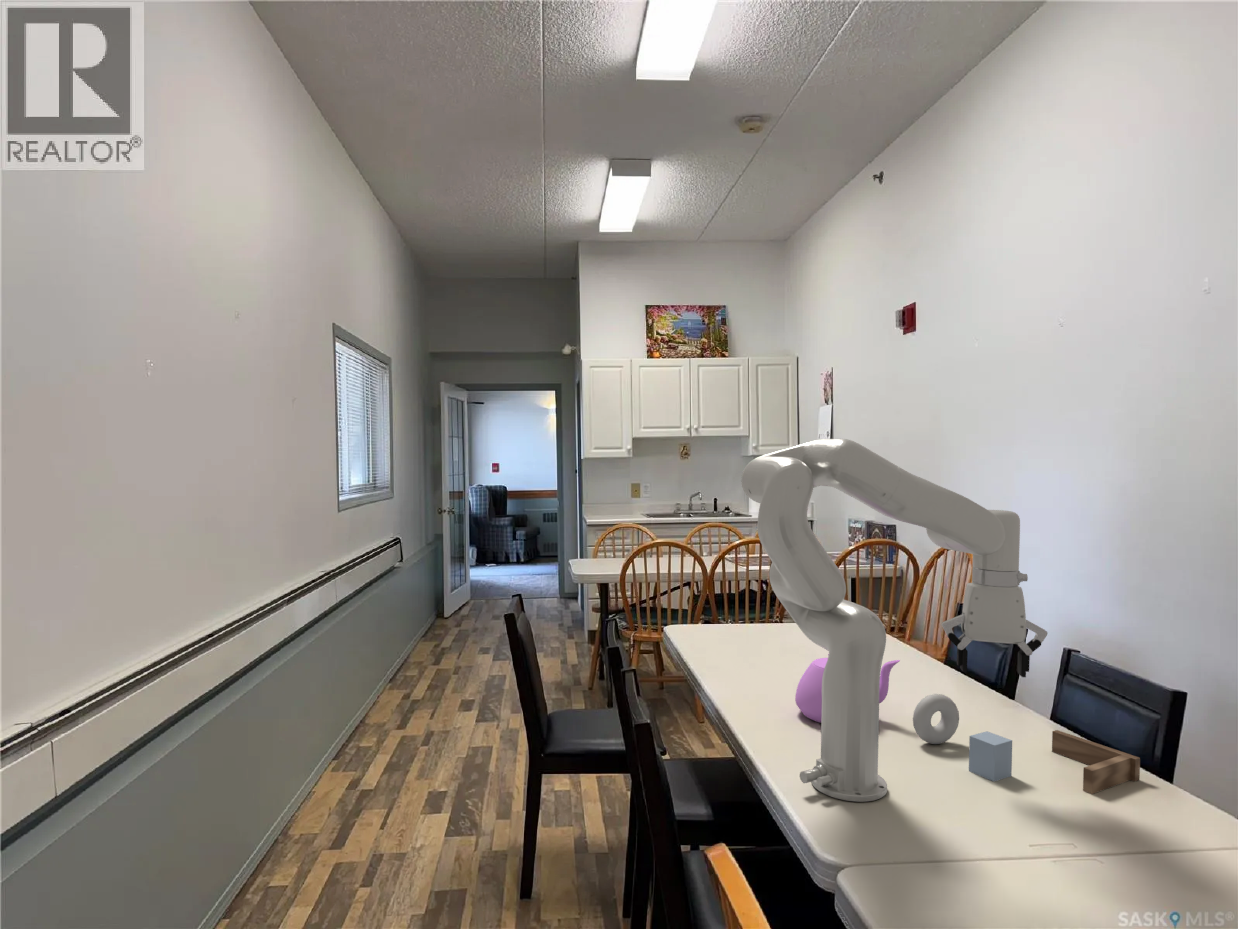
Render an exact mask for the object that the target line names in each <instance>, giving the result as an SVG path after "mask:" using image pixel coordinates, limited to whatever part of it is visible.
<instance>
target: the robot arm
mask: <svg viewBox="0 0 1238 929" xmlns="http://www.w3.org/2000/svg"><path fill="white" fill-rule="evenodd" d="M740 481H741V487H742V489H743V492H744V493H745V495H746V496H747V498H748V499H750V500H752V501H753V502H756V503H758V504H759V508H758V515H757V534H758V538H759V542H760V544H761V546H762V548H763V550H764V551H765V553H766V554H767V556H768V558H769V559H770V561H771V565H770V567H769V572H768V576H769V577H768V579H769V584H770V585H771V586H770V587H771V588H772V591H773V592H774V594H775V596H776V598H777V599H778V601H779V602H780V603H781V604H782V606H783V608H784V609H785V610H786V612H787V613H788V614H789V616H790V617H791V619H792V620H793V621H794V623H795V624H796V625H797V626H798V628H799V629H800V631H801V632H802V633H803V634H804V636H805V637H806V638H807V639H808V640H810V641H811V642H812V643H814V644H815V645H817V646H819V647H821V648H823V649H824V650H826V651H828V654H829V656H828V655H827V658H828V660H827V663H826V666H825V669H824V672H823V677H822V719H821V724H820V726H821V729H820V735H821V736H820V758H817V759H816V761H815V765H814V766H813V767H812V769H806V770H802V771H800V772H799V780H800V781H801V782H802V784H808V783H811V784H812V786H813V787H814V788H815V789H816V790H817V791H819V792H820V793H822V794H824V795H826V796H828V797H831V798H834V799H837V800H838V799H839V800H842V801H849V802H854V803H855V802H856V803H857V802H861V803H864V802H873V801H877V800H880V799H881V798H883V797H885V795H887V792H888V784H887V781H886V780H885V779H884V777H882V776H881V775H880V774H878V773H879V770H878V769H879V736H880V735H879V732H880V730H879V727H880V726H879V723H880V704H879V686H880V674H881V668H882V666H883V659H884V655H885V651H886V647H887V646H886V644H887V633H886V628H885V626H884V623H883V621H882V620H881V619H880V617H879V616H878V615H877V614H876V613H875V612H873V611H872V610H870V609H869V608H868V607H865V606H863V605H861V604H858V603H856V602H852V601H850V600H847V599H845V597H846V593H847V586H846V584H847V583H846V581H845V580H846V579H845V578H844V575H843V574H842V572H841V570H840V569H839V567H838V566H837V565H836V562H834V561H833V559H832V558H831V556H830V555H829V553H828V552H827V551H826V550H825V548H824V546H823V545H822V544H821V542H820V541H819V539H818V538H817V536H816V535H815V533H814V531H813V530H812V528H811V526H810V523H809V520H808V509H809V508H808V507H809V506H810V501H811V498H812V495H813V493H814V492H813V490H814V488H817V487H830V488H831V487H832V488H834V489H837V490H838V491H839V492H843V493H844V494H846V495H848V496H849V497H850V498H853V499H855V500H857V501H859V502H860V503H862V504H864V505H866V506H868V507H870V509H873V510H874V511H876V512H878V513H879V514H882V515H884V516H886V517H888V518H891V519H894V520H896V521H898V522H901V523H907V524H911V525H915V526H919V527H922V528H925V530H926V534H927V536H928V538H929V540H930V541H931V542H932V543H933V544H934V545H936V546H938V547H941V548H942V549H946V550H949V551H955V552H961V553H966V554H971V555H972V572H971V575H972V576H971V582H967V583H966V588H965V591H964V594H963V595H964V596H963V603H962V613H961V614H960V615H957V616H955V617H952V618H950V619H946V620H945V621H943V622H941V626H942V629H943V630H944V632H945V634H946V636H947V638H948V640H950V641H951V642H952V643H953V644H954V645H955V647H956V665H957V666H958V667H959V668H960V670H961V671H962V673H966V672H968V650H967V647H968V645H969V644H970V643H972V642H973V641H977V642H986V643H999V644H1000V643H1001V644H1014V645H1017V647H1019V648H1020V649H1019V651H1018V652H1017V668H1016V669H1017V674H1018V675H1019V676H1020V677H1021V678H1027V672H1028V673H1030V660H1031V656H1032V655H1033V653H1034V652H1035V651H1036V650H1038V649H1039V647H1041V646H1042V644H1043V642H1044V641H1045V639H1046V637H1047V636H1048V633H1049V632H1048V631H1047V630H1046V629H1044V628H1043V627H1041V626H1038V625H1037V624H1035V623H1033V622H1031V621H1030V620H1028V619H1027V616H1026V605H1025V604H1026V603H1025V597H1024V593H1023V591H1024V590H1023V588H1022V587H1021V586H1020V584H1021V583H1023V582H1028V579H1029V578H1028V574H1027V573H1023V572H1021V571H1020V569H1019V568H1020V546H1021V545H1020V539H1021V535H1020V534H1021V518H1020V515H1019V514H1018V513H1016V512H1014V511H1009V510H1003V509H987V508H985V507H983V506H982V505H981V504H978V503H977V502H975V501H973V500H972V499H970V498H968V497H966V496H963V495H962V494H960V493H957V492H956V491H953V490H950V489H948V488H946V487H943V486H941V485H938V484H936V483H934V482H932V481H929V480H927V479H926V478H923V477H920V476H917V475H915V474H913V473H911V472H909V471H907V470H905V469H903V468H902V467H901V466H898V465H896V464H895V463H893V462H891V461H890V460H888V459H886V458H884V457H882V456H881V455H879V454H877V453H876V452H875V451H873V450H871V449H869V448H867V447H866V446H864V445H861V444H860V443H858V442H856V441H854V440H851V439H847V438H821V439H815V440H812V441H809V442H805V443H802V444H797V445H796V446H792V447H789V448H785V449H781V450H777V451H774V452H771V453H767V454H763V455H760V456H758V457H755V458H754V459H752V460H751V461H749V462H748V463H747V464H746V466H745V467H744V469H743V471H742V474H741V480H740ZM959 625H961V632H962V634H961V635H960V636H959V637H958V636H957V635H956V634H955V633H954V630H953V628H954V627H958V626H959ZM1027 629H1028V630H1030V631H1031V632H1034V633H1035V635H1034V637H1033V638H1032V639H1031V640H1030V641H1028V642H1027V643H1026V642H1025V641H1026V637H1027Z"/></svg>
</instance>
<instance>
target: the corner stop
mask: <svg viewBox="0 0 1238 929" xmlns="http://www.w3.org/2000/svg"><path fill="white" fill-rule="evenodd" d="M1051 736H1052V737H1051V738H1052V740H1051V742H1052V743H1051V752H1052V753H1054V754H1057V755H1059V756H1063V757H1066V758H1069V759H1071V760H1074V761H1077V762H1079V763H1082V764H1085V765H1087V766H1085V767H1083V777H1082V791H1083V792H1086V793H1088V794H1089V795H1090V794H1091V795H1093V794H1097V793H1099V792H1102V791H1104V790H1107V789H1110V788H1113V787H1115V786H1117V785H1121V784H1123V783H1127V782H1129V781H1132V782H1137V781H1140V777H1141V776H1140V773H1141V772H1140V771H1141V757H1139V756H1136V755H1132V754H1131V753H1127V752H1124V751H1121V750H1118V749H1115V748H1112V747H1108V746H1105V745H1103V744H1100V743H1097V742H1094V741H1091V740H1089V739H1085V738H1083V737H1079V736H1075V735H1074V734H1071V733H1066V732H1064V731H1062V730H1058V729H1055V730H1052V734H1051Z"/></svg>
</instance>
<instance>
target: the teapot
mask: <svg viewBox="0 0 1238 929" xmlns="http://www.w3.org/2000/svg"><path fill="white" fill-rule="evenodd" d="M828 656H829V653H828V654H827V657H820V658H816V659H814V660H812V662H811V663H810V664H809V665H808V667H806V669H805V671H804V673H803V674H802V675H801V678H800V679H799V681H798V683H797V687H796V691H795V695H794V696H795V704H796V706H797V708H798V709H799V710H800V711H801V713H802V714H803V715H804V716H805V717H807V718H808V719H810V720H812V721H815V722H817V723H821V719H822V677H823V672H824V669H825V666H826V663H827V660H828ZM900 661H901V659H896V660H890V661H887V662H884V663H883V664H882V665H881V672H880V686H879V705H880V704H881V703H882V702H883V701H885V700H886V698H887V695H888V693H889V687H890V686H889V684H890V673H891V671H892V669H893V668H894V666H896V664H898V663H899V662H900Z"/></svg>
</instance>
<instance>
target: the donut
mask: <svg viewBox="0 0 1238 929" xmlns="http://www.w3.org/2000/svg"><path fill="white" fill-rule="evenodd" d="M958 709H959V708H958V706H957V705H956V703H955V702H954V700H953V699H951V698H950V697H949V696H947V695H945V694H943V693H932V694H928V695H925V697H923V698H922V699H920V700H919V702H918V703H917V704H916V706H915V708H914V711H913V715H912V724H913V729H914V731H915V733H916V735H917V736H918V737H919V738H920V739H921V740H922V741H924V742H926V743H927V744H932V745H939V744H942V743H945V742H946V743H947V742H948V741H949V740H950V739H951V738H952V737H953V735H955V733H956V732H957V729H958V727H959V722H960V713H959V710H958ZM937 712H940V720H939V722H938V723H937V724H935V725H934V726H933V725H932V719H933V716H934V715H935V714H936V713H937Z"/></svg>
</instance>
